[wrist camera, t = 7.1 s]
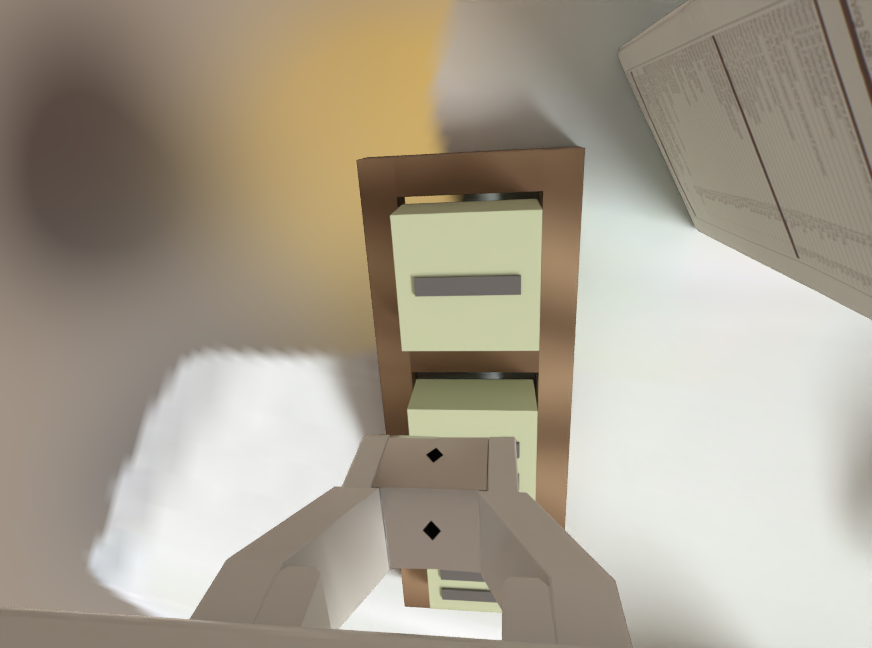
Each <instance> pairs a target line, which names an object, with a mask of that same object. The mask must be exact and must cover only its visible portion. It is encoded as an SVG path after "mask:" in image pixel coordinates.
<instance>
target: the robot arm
mask: <svg viewBox="0 0 872 648" xmlns="http://www.w3.org/2000/svg"><path fill="white" fill-rule="evenodd" d="M389 568H403V569H438V570H451V571H464V572H476V573H481V576H482V577H483V579H484V581H485V583H486V584H487V586H488V588H489V589H490V591H491V593H492V594H493V596H494V598H495V600H496V601H497V603H498V605H499V606H500V608H501V610H502V640H488V639H474V638H460V637H445V636H430V635H415V634H400V633H385V632H370V631H355V630H340V629H339V628H340V627H341V626H342V624H343V623H344V622H345V621H346V620H347V619H348V618H349V616H350V615H351V614H352V613H353V612H354V611H355V610H356V608H357V607H358V606H359V605H360V604H361V603H362V602H363V600H364V599H365V598H366V597H367V596H368V595H369V594H370V592H371V591H372V590H373V589H374V588H375V587H376V586H377V584H378V583H379V582H380V581H381V580H382V579H383V578H384V576H385V575H386V574H387V573H388V572H389ZM0 648H633V647H632V643H631V639H630V636H629V632H628V628H627V624H626V620H625V616H624V612H623V609H622V605H621V601H620V597H619V593H618V589H617V585H616V582H615V580H614V579H613V578H612V577H611V576H610V575H609V574H608V573H607V572H606V571H605V570H604V569H603V568H602V567H601V566H600V565H599V564H598V563H597V562H596V561H595V560H594V559H593V558H592V557H591V556H590V555H589V554H588V553H587V552H586V551H585V550H584V549H583V548H582V547H581V546H580V545H579V544H578V543H577V542H576V541H575V540H574V539H573V538H572V537H571V536H570V535H569V534H568V533H567V532H566V531H565V530H564V529H563V528H562V527H561V526H560V525H559V524H558V523H557V522H556V521H555V520H554V519H553V518H552V517H551V516H550V515H549V514H548V513H547V512H546V511H545V510H544V509H543V508H542V507H541V506H540V505H539V504H538V503H537V502H536V501H535V500H534V499H533V498H532V497H531V496H530V495H529V494H528V493H526V492H519V483H518V467H517V451H516V439H515V437H514V436H513V437H489V438H488V437H433V436H407V435H391V436H390V435H370V434H367V435H366V436H364V437H363V438H362V441H361V443H360V445H359V448H358V450H357V453H356V455H355V457H354V460H353V462H352V464H351V467H350V469H349V471H348V474H347V476H346V478H345V481H344V483H343V485H342V487H333V488H332V489H330V490H329V491H327V492H326V493H325V494H323V495H322V496H320V497H319V498H317V499H316V500H314V501H313V502H311V503H310V504H308V505H307V506H305V507H304V508H302V509H301V510H299V511H298V512H296V513H295V514H293V515H292V516H291V517H289V518H288V519H286V520H285V521H283V522H282V523H280V524H279V525H277V526H276V527H274V528H273V529H271V530H270V531H268V532H267V533H265V534H264V535H262V536H261V537H259V538H258V539H256V540H255V541H254V542H252V543H251V544H249V545H248V546H246V547H245V548H243V549H242V550H240V551H239V552H237V553H236V554H234V555H233V556H231V557H230V558H228V559H227V560H226V562H225V563H224V565H223V566H222V568H221V570H220V571H219V573H218V574H217V576H216V578H215V579H214V581H213V582H212V584H211V586H210V587H209V589H208V590H207V592H206V594H205V595H204V597H203V599H202V600H201V602H200V603H199V605H198V607H197V608H196V610H195V611H194V613H193V615H192V616H191V618H190V619H177V618H162V617H148V616H133V615H118V614H103V613H89V612H74V611H59V610H44V609H29V608H15V607H0Z"/></svg>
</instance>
